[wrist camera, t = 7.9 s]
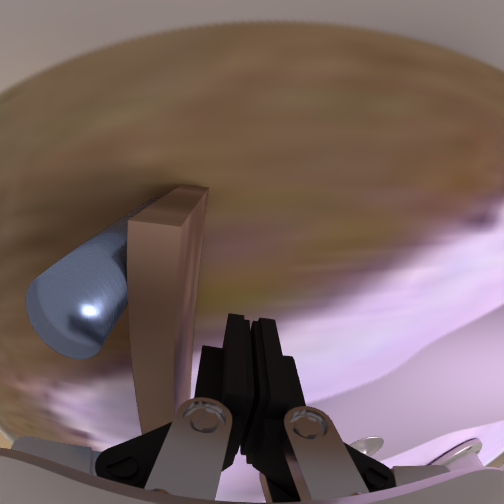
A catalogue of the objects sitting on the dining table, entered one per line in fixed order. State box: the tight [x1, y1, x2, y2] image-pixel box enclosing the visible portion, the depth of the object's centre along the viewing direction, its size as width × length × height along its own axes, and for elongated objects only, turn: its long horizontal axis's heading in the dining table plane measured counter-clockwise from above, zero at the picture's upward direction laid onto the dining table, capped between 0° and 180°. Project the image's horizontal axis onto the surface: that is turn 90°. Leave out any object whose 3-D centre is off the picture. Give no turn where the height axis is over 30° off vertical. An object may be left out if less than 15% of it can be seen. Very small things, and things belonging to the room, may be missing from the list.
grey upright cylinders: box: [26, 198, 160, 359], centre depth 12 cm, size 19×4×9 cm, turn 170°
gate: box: [127, 185, 209, 435], centre depth 12 cm, size 18×2×8 cm, turn 171°
